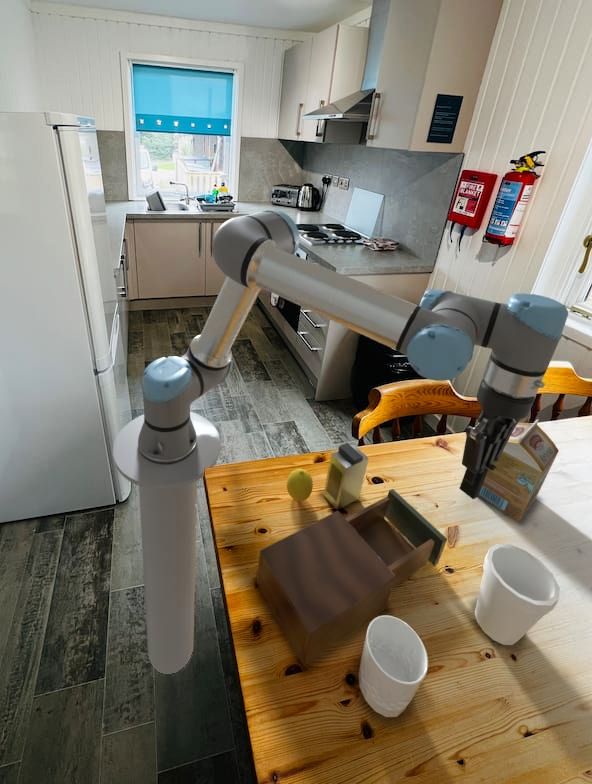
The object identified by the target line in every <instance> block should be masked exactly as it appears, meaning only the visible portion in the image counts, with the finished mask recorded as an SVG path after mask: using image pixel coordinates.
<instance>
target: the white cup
mask: <svg viewBox="0 0 592 784" xmlns="http://www.w3.org/2000/svg"><path fill="white" fill-rule="evenodd" d="M363 643H364V644H363V648H362V652H361V658H360V663H359V664H360V665H359V669H358V673H357V674H358V675H357V676H358V686H359V689H360V691H361V694H362V696H363V698H364V700H365V702H366V703H367V704H368V705H369V706H370V707H371V708H372V710H373V711H374V712H375V713H377V714H379V715H381V716H383V717H384V718H397V717H399V716H400V715H401V714H402V713H403V712H404V711H405V710H406V708H407V706H408V705H409V704H410V703H411V701H412V700H413V698H414V697H415V695H416V693H417V692H418V690H419V688H420V686H421V684H422V683H423V681H424V679H425V677H426V675H427V673H428V669H429V657H428V653H427V649H426V647H425V645H424V643H423V641H422V639H421V638H420V636H419V635H418V633H417V632H416V631H415V630H414V629H413V628H412V627H411V626H410V625H409V624H408V623H406V622H405V621H404V620H402V619H400V618H398V617H395V616H392V615H379V616H377V617H375V618H374V619H372V621H370V622H369V625H368V627H367V629H366V635H365V639H364V642H363Z"/></svg>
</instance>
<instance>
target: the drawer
mask: <svg viewBox="0 0 592 784" xmlns="http://www.w3.org/2000/svg"><path fill="white" fill-rule="evenodd" d="M344 518H345V517H344ZM385 518H386V519H385ZM345 519H346V520H347V521H348V523H349V524H350V525H351V526H352V527H353V528H354V529H355V530H356V532H357V533H358V534H359V535H360V536H361V537H362V538H363V540H364V541H365V542H366V543H367V544H368V545H369V546H370V547H371V549H372V550H373V551H374V552H375V553H376V554H377V555H378V557H379V558H380V559H381V560H382V561H383V562H384V563H385V564H386V566H387V567H388V568H389V569H390V570H391V571H392V572H393V574H394V575H395V576H396V577H395V580H394V583H393V586H392V589H391V590H393V589H395V587H397V586H399V585H400V584H401V583H403V582H405V581H406V580H408V578H410V577H412V576H413V575H414V574H416V573H417V572H419V571H421V570H422V569H423V568H425V567H426V566H427V564H428V563H430V564H431V565H432V566H433V567H435V566H437V565H438V564H439V562H440V559H441V557H442V554H443V552H444V549H445V547H446V544H447V541H448V538H447V537H446V536H445V535H444V534H443V533H442V532H440V530H438V529H437V528H436V527H435V526H434V525H433V524H432V523H430V522H429V521H428V519H427V518H425V516H424V515H422V514H421V513H420V512H419V511H418V510H417V509H416V508H415V507H413V506H412V504H410V503H409V502H408V501H407V500H406V499H405V498H404V497H403V496H401V495H400V494H399V493H398V492H397V490H395V489H394V488H392V489H390V490H388V492H387V496H385V497H383V498H381V499H379V500H377V501H376V502H374V503H371V504H370V505H368V506H366V507H364V508H362V509H360V510H358V511H357V512H355V513H353V514H351V515H349V516H347V517H346V518H345ZM389 522H390V523H389ZM391 524H392V525H391ZM397 530H398V531H397ZM403 536H404V537H403Z"/></svg>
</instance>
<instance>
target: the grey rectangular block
mask: <svg viewBox="0 0 592 784" xmlns="http://www.w3.org/2000/svg"><path fill="white" fill-rule="evenodd" d="M369 459H370V458H369V457H368V456H367V455H366V454H365V453H364V452H363V451H362V450H361V449H360V448H358V447H357V446H356V444H354V443H353V444H349V443H348V442H347V443H346V442H345V443H343V444H341V445H339V446H338V450H336V451H334V452H332V453H330V459H329V464H328V468H327V474H326V478H325V484H324V489H323V494H322V495H323V496H324V497H325V499H326V500H327V501H328V502H329V503H330V504H331V505H332V507H334V509H335V510H336V511H339V510H341V509H342V508H344V507H346V506H348V505H350V504H353V503H354V502H356V501H358V500H360V496H361V492H362V489H363V484H364V479H365V476H366V471H367V467H368V463H369Z"/></svg>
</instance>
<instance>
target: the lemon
mask: <svg viewBox="0 0 592 784" xmlns="http://www.w3.org/2000/svg"><path fill="white" fill-rule="evenodd" d="M313 482H314V481H313V478H312V476H311V474H310V472H309V471H307V470H306V469H304V468H296V469H293V470H292V471H291V472H290V473H289V475H288V477H287V480H286V489H287V493H288V495H289V496H290V498H292V499H293V500H295V501H297V502H303V501H306V500H307V499H309V498H310V496H311V494H312V492H313V487H314V483H313Z"/></svg>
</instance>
